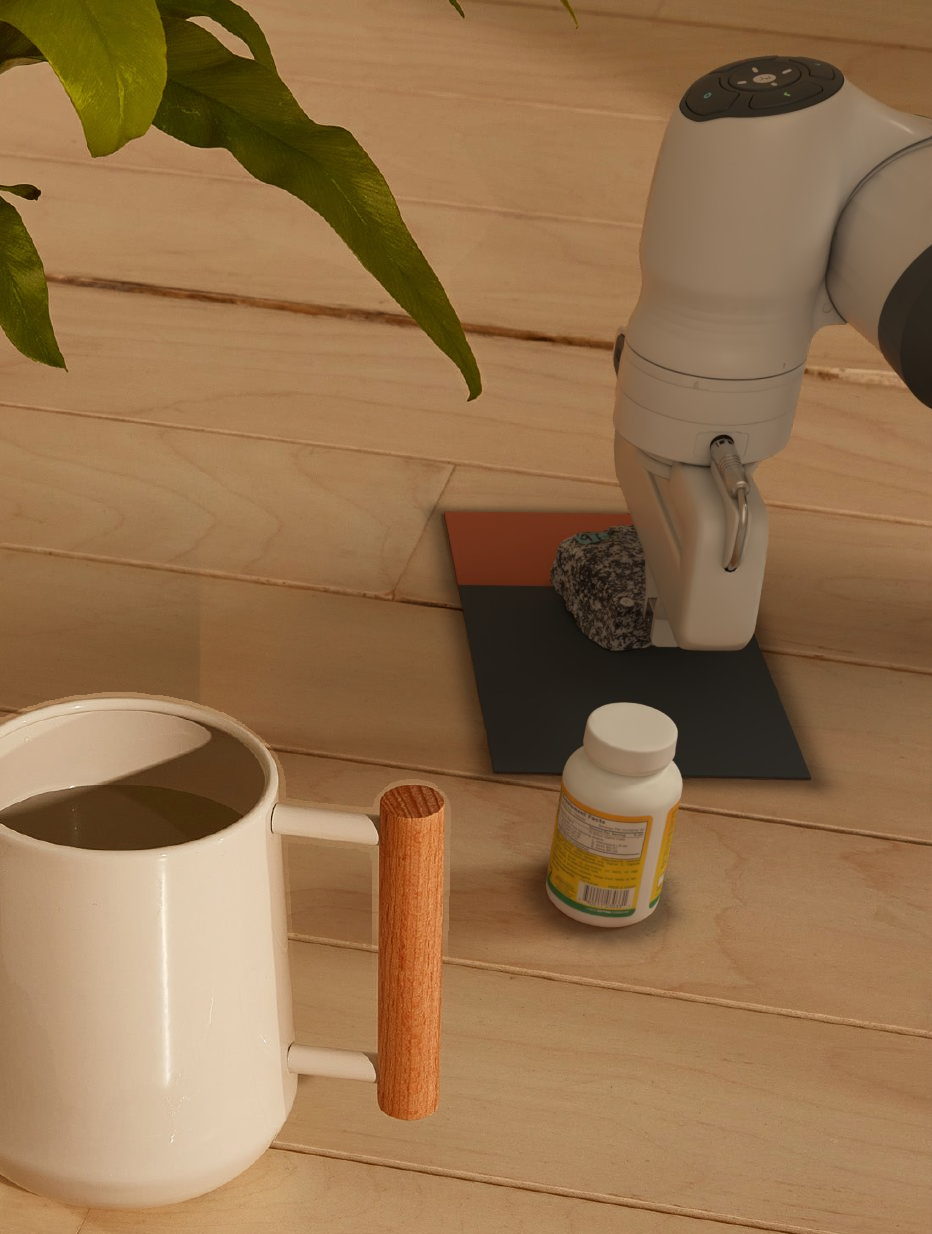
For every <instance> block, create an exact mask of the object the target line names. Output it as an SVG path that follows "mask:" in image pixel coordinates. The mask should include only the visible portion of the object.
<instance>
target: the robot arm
mask: <svg viewBox="0 0 932 1234" xmlns="http://www.w3.org/2000/svg"><path fill="white" fill-rule="evenodd" d="M658 149H659V150H658V152H657V157H656V160H655V164H654V168H653V172H652V177H651V182H650V187H649V190H648V196H647V201H646V205H645V211H644V216H643V220H642V221H643V222H642V228H641V233H640V239H639V245H638V246H639V247H638V260H639V267H640V273H641V275H640V276H641V285H640V292H639V295H638V298H637V302H636V304H635V306H634V309H633V310H632V312H631V314H630V316H629V318H628V321H627V325H620V326H619V327H618V328H617V330H616V332H615V335H614V342H613V349H612V362H613V367H614V371H615V372H614V373H615V376H616V384H615V393H614V394H615V395H614V396H615V398H614V404H613V411H612V424H613V426H614V438H613V460H614V461H613V462H614V470H615V476H616V477H615V478H616V479H617V483H618V484H619V487H620V490H621V493H622V496H623V498H624V501H625V504H626V506H627V510H628V512H629V514H630V515H631V518H632V521H633V524H634V526H635V529H636V532H637V535H638V538H639V540H640V543H641V546H642V549H643V552H644V554H645V574H646V597H645V603H644V609H643V618H644V621H645V624H646V626H647V629H648V632H649V635H650V639H651V641H652V644H653V645H655V646H656V647H678V646H679V647H680V648H682V649H686V650H699V651H734V650H740V649H743V648H744V647H745V646H746V645H747V644H748V642H749V641H750V639H751V638H752V636H753V633H755V630H756V625H757V619H758V614H759V608H760V601H761V596H762V591H763V590H762V589H763V584H764V578H765V577H764V576H765V571H766V570H765V569H766V563H767V555H768V547H769V535H770V534H769V532H770V527H769V526H770V522H769V513H768V509H767V506H766V502H765V500H764V498H763V495H762V494H761V492H760V489H759V486H758V485H757V483H756V481H755V479H754V476H753V474H754V473H755V472H757V469H758V468H759V464H760V462H761V461H765V460H768V459H770V458H773V457H774V456H776V455H778V454H779V453H780V452H782V451H783V450H784V449H785V448H786V447H787V446H788V444H789V442H790V440H791V437H792V431H793V427H794V422H795V418H796V412H797V409H798V404H799V399H800V395H801V390H802V386H803V380H804V375H805V370H806V367H807V366H806V365H807V361H808V357H809V353H810V348H811V343H812V340H813V338H814V337H815V334H816V333H817V332H818V331H820V330H821V329H823V328H824V327H827V326H843V325H844V326H845V325H847V324H848V325H850V326H851V328H853V329H854V330H855V331H856V332H857V333H858V334H859V335H861V337H863V338H864V339H865V340H866V341H867V342H868V343H869V344H871V346H873V347H874V348H875V349H876V350H877V351H878V352H879V353H880V354H882V356H883V358H884V360H885V361H886V362H887V363H888V365H889V366H890V367H891V368H892V370H893V371H894V372H895V373H896V375H897V376H898V378H900V380H901V381H902V382H903V383H904V385H905V386H906V387H907V389H908V390H909V391H910V392H911V393H912V395H913V396H914V397H915V398H916V399H917V400H918V401H919V402H920V403H921V404H922V405H924V406H925V407H927V408H928V409H930V410H932V118H931V117H929V116H925V115H921V114H915V113H909V112H905V111H902V110H898V109H896V108H894V107H891V106H888V105H887V104H884V103H883V102H881V101H879V100H878V99H876V98H874V97H873V96H871V95H869V94H867V93H866V92H864V91H863V90H862V89H860V87H858V86H856V85H855V84H853V83H852V82H851V81H850V80H848V78H847V77H846V76H845V74H844V72H843V71H841V70H840V69H839V68H838V67H836V65H833V64H831V63H829V62H827V61H824V60H820V59H816V58H812V57H806V56H792V55H791V56H788V55H779V56H778V55H777V54H773V55H761V56H754V57H749V58H744V59H740V60H736V61H733V62H732V61H731V62H729V63H727V64H724V65H721V66H719V67H717V68H715V69H713V70H711V71H709V72H708V73H705V74H704V75H702V76H701V77H699V78H698V79H696V80H695V81H694V82H693V83H692V84H690V85H689V86H688V88H687V89H686V90H685V91H684V93H683V94H682V96H681V97H680V98H679V100H678V102H677V103H676V105H675V107H674V109H673V111H672V113H671V114H670V117H669V120H668V122H667V125H666V127H665V130H664V133H663V137H662V140H661V142H660V146H659V148H658Z"/></svg>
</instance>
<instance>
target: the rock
mask: <svg viewBox="0 0 932 1234" xmlns="http://www.w3.org/2000/svg"><path fill="white" fill-rule="evenodd" d="M550 574H551V576H550V583H551V585H552V586H553V587H554V588H555V590H556V592H557V593H558V594H559V595H560V596H561V597H562V598H564V601H565V602H566V603H567V604H566V608H567V610H569V611H571V612H572V613H573V614H574V618H575V619H576V620H577V621H576V624H577V625H578V627H579V629H580V630H581V631H582V632H583V633H584V634H585V635H587V636H588V638H589V639H590V640H592V641H594V642H596V643H597V644H599V645H600V646H602V647H604V648H608V649H610V650H612V651H616V650H631V649H636V648H645V647H649V646H652V645H653V644H652V641H651V639H650V635H649V632H648V629H647V626H646V624H645V621H644V618H643V609H644V603H645V597H646V574H645V554H644V552H643V549H642V546H641V543H640V540H639V538H638V535H637V532H636V529H635V526H634V525H628V526H624V525H618V526H612V527H609V528H608V529H606V530H605V531H603V532H584V533H577V534H575V535H573V536H572V537H570V538H567V539H565V540H564V541H562V542H560V545H559V547H558V549H557V553H556V560H555V561H554V562H553V564H552V567H551V570H550Z"/></svg>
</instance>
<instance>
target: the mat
mask: <svg viewBox="0 0 932 1234" xmlns="http://www.w3.org/2000/svg"><path fill="white" fill-rule="evenodd" d="M443 515H444V520H445V524H446V530H447V537H448V541H449V546H450V552H451V556H452V557H451V558H452V561H453V567H454V573H455V577H456V583H457V588H458V593H459V598H460V603H461V609H462V614H463V619H464V623H465V629H466V630H465V631H466V635H467V640H468V641H467V642H468V645H469V650H470V655H471V661H472V667H473V671H474V677H475V682H476V688H477V692H478V697H479V702H480V708H481V713H482V718H483V719H482V720H483V725H484V729H485V734H486V740H487V745H488V746H487V747H488V751H489V756H490V760H491V767H492V771H493V774H502V775H505V774H506V775H507V774H508V775H556V776H557V775H559V776H561V775H562V776H563V771H564V767H565V765H566V763H567V761H568V759H569V758H570V756H571V755H572V754H573V753H574V752H575V751H576V750H577V749H579V748H580V747H582V746H584V744H583V739H584V734H585V729H586V724H587V720H588V718H589V716H590V714H591V713H592V712H593V711H594V710H596V709H597V708H599V707H601V706H604V705H607V704H612V703H636V704H641V705H645V706H648V707H651V708H654V709H656V710H658V711H660V712H662V713H664V714H665V715H667V716H668V717H669V718H670V719H671V720H672V721H673V722H674V724H675V725H676V728H677V732H678V736H677V742H676V748H675V755H674V758H673V760H672V761H673V762H674V763H675V764H676V766H677V767H678V769H679V771H680V774H681V777H682V778H703V779H705V778H706V779H707V778H708V779H709V778H710V779H711V778H712V779H714V778H715V779H753V780H754V779H756V780H757V779H759V780H760V779H763V780H764V779H765V780H808V781H809V780H812V775H811V772H810V770H809V767H808V765H807V763H806V762H807V761H806V760H805V757H804V755H803V752H802V749H801V747H800V744H799V743H798V740H797V737H796V735H795V732H794V729H793V727H792V725H791V721H790V719H789V717H788V713H787V712H786V709H785V707H784V704H783V702H782V699H781V697H780V694H779V691H778V690H777V687H776V685H775V681H774V679H773V677H772V674H771V671H770V668H769V666H768V663H767V661H766V658H765V656H764V654H763V651H762V649H761V646H760V643H759V641H758V639H757V636H756V632H754V633H753V636H752V638H751V639H750V641H749V642H748V644H747V645H746V646H745V647H744V648H743V649H740V650H734V651H699V650H686V649H682V648H680V647H679V646H678V647H656V646H655V645H652V646H649V647H645V648H636V649H631V650H616V651H612V650H610V649H608V648H604V647H602V646H600V645H599V644H597V643H596V642H594V641H592V640H590V639H589V638H588V636H587V635H585V634H584V633H583V632H582V631H581V630H580V629H579V627H578V625H577V624H576V621H577V620H576V619H575V618H574V614H573V613H572V612H571V611H569V610H567V608H566V604H567V603H566V602H565V601H564V598H562V597H561V596H560V595H559V594H558V593H557V592H556V590H555V588H554V587H553V586H552V585H551V583H550V576H551V574H550V570H551V567H552V564H553V562H554V561H555V560H556V553H557V549H558V547H559V545H560V542H562V541H564V540H565V539H567V538H570V537H572V536H573V535H575V534H577V533H584V532H603V531H605V530H606V529H608V528H609V527H612V526H618V525H624V526H628V525H634V524H633V521H632V518H631V515H630V513H599V512H598V513H596V512H595V513H594V512H593V513H590V512H587V513H586V512H584V513H582V512H529V511H528V512H522V511H521V512H519V511H459V510H458V511H455V510H453V511H451V510H444V512H443Z"/></svg>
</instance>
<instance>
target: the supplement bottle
mask: <svg viewBox="0 0 932 1234" xmlns="http://www.w3.org/2000/svg"><path fill="white" fill-rule="evenodd" d="M677 736H678V732H677V728H676V725H675V724H674V722H673V721H672V720H671V719H670V718H669V717H668V716H667V715H665V714H664V713H662V712H660V711H658V710H656V709H654V708H651V707H648V706H645V705H641V704H636V703H612V704H607V705H604V706H601V707H599V708H597V709H596V710H594V711H593V712H592V713H591V714H590V716H589V718H588V720H587V724H586V729H585V734H584V739H583V744H584V746H582V747H580V748H579V749H577V750H576V751H575V752H574V753H573V754H572V755H571V756H570V758H569V759H568V761H567V763H566V765H565V767H564V771H563V775H562V776H561V781H560V789H559V795H558V803H557V807H556V808H557V809H556V816H555V819H554V826H553V834H552V839H551V846H550V851H549V858H548V859H549V860H548V865H547V874H546V880H545V889H546V894H547V896H548V899H549V900H550V901H551V903H552V904H553V905H554V907H556V908H557V909H558V910H559V911H560V912H562V913H563V914H565V915H566V916H567V917H569V918H571V919H573V920H575V921H577V922H580V923H582V924H585V925H589V926H593V927H594V926H595V927H600V928H622V927H627V926H631V925H632V926H633V925H635V924H637V923H640V922H641V921H644V920H645V919H647V918H648V917H649V916H650V915H652V914H653V912H654V911H655V910H656V908H657V906H658V904H659V901H660V897H661V893H662V888H663V883H664V878H665V874H666V869H667V864H668V859H669V854H670V850H671V846H672V841H673V835H674V833H675V832H674V831H675V827H676V821H677V816H678V812H679V807H680V803H681V798H682V793H683V777H681V774H680V771H679V769H678V767H677V766H676V764H675V763H674V762H673V761H672V760H673V758H674V755H675V748H676V742H677Z"/></svg>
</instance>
